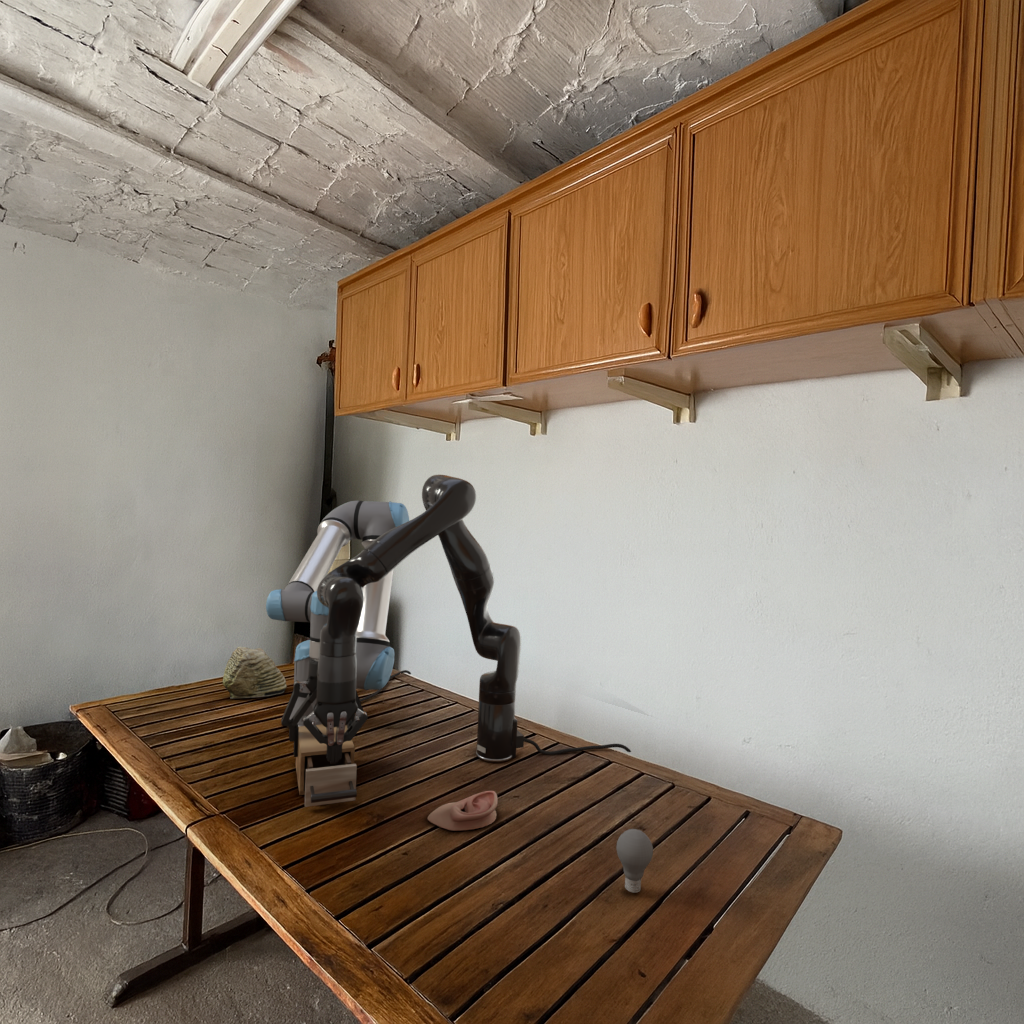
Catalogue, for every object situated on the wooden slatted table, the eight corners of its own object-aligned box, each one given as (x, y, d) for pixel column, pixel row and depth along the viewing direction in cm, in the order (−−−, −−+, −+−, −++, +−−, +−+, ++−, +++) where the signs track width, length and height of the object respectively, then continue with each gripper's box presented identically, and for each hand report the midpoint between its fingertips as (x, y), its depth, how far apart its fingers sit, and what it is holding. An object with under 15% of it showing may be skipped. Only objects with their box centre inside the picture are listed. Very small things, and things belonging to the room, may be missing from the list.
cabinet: (353, 788, 138) (354, 747, 138) (299, 795, 134) (300, 752, 134) (344, 759, 153) (345, 722, 153) (295, 764, 149) (296, 726, 149)
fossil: (218, 695, 195) (220, 647, 195) (278, 685, 208) (279, 640, 207) (228, 703, 189) (230, 653, 188) (289, 692, 201) (290, 645, 201)
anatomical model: (422, 806, 123) (441, 781, 134) (422, 826, 123) (440, 799, 134) (489, 816, 120) (502, 789, 132) (488, 836, 121) (501, 808, 132)
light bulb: (610, 879, 108) (613, 822, 108) (644, 879, 109) (647, 822, 109) (619, 902, 102) (622, 840, 102) (655, 901, 103) (658, 840, 103)
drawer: (359, 813, 125) (360, 777, 125) (306, 821, 122) (308, 783, 122) (346, 770, 145) (347, 739, 145) (300, 775, 141) (301, 743, 141)
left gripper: (271, 664, 138) (268, 764, 139) (380, 659, 147) (376, 752, 147) (271, 656, 145) (267, 751, 145) (374, 651, 154) (371, 740, 154)
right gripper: (303, 683, 119) (300, 774, 120) (373, 678, 124) (370, 766, 125) (300, 672, 126) (297, 758, 127) (367, 668, 131) (364, 751, 132)
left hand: (322, 752), depth 146 cm, fingers closed on cabinet, 11 cm apart
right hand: (334, 762), depth 126 cm, fingers closed
